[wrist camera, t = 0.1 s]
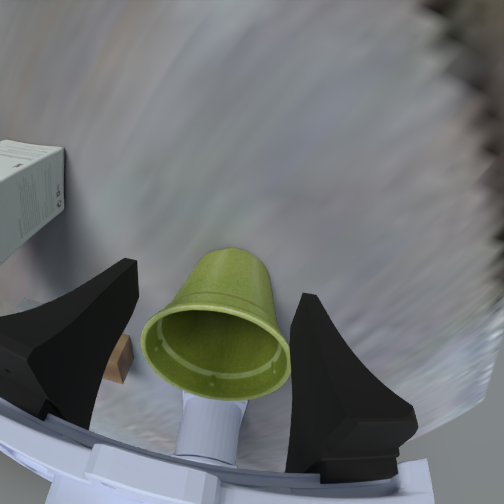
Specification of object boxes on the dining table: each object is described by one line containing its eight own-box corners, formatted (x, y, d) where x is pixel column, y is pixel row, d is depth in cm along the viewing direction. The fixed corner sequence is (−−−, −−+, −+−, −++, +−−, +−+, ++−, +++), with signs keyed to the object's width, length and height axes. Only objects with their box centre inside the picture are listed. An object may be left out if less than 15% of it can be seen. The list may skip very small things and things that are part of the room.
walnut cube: (133, 357, 32) (122, 384, 29) (104, 349, 32) (91, 374, 29) (129, 335, 30) (116, 362, 27) (97, 326, 30) (82, 352, 26)
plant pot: (255, 334, 28) (248, 414, 21) (162, 293, 26) (128, 369, 19) (312, 261, 23) (325, 346, 16) (200, 206, 22) (162, 277, 14)
